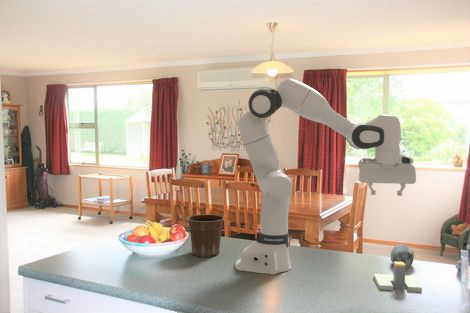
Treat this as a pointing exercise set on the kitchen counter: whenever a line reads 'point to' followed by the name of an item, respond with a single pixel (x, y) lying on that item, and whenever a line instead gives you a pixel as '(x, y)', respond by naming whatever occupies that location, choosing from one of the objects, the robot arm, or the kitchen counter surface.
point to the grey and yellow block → (399, 276)
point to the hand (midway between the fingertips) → (386, 195)
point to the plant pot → (205, 234)
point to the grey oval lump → (402, 255)
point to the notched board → (387, 282)
